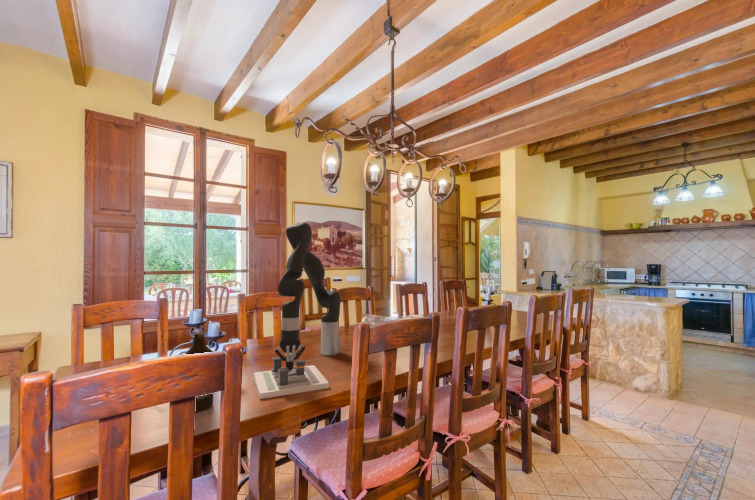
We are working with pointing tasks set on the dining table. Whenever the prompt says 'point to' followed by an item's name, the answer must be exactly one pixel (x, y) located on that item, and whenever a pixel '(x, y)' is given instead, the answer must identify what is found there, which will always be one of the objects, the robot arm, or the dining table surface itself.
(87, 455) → the dining table surface
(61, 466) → the dining table surface
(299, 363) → the breaker handle
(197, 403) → the olive oil
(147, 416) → the dining table surface
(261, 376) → the switch board
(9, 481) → the dining table surface
